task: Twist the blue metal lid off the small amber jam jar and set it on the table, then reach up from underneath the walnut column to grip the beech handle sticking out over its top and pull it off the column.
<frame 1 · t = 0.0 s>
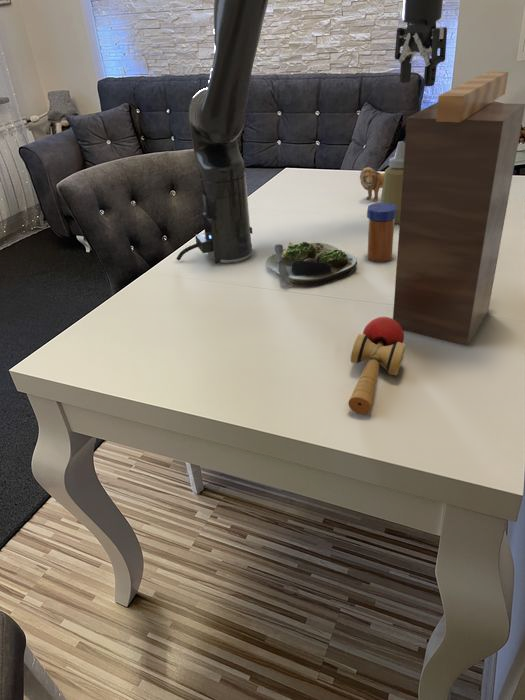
hand: (416, 84, 114), 29 cm above the table, tool pointing down, fingers open, 8 cm apart
salad plate: (310, 269, 109), on the table
rod: (473, 106, 73), point 32 cm above the table, touching stand
lion figurine: (381, 199, 143), on the table
jar lid: (382, 209, 106), point 10 cm above the table, screwed on, not yet turned
kendama: (374, 377, 76), on the table
jar: (379, 257, 111), on the table
squeeze bottle: (396, 220, 129), on the table
stand: (440, 319, 88), on the table
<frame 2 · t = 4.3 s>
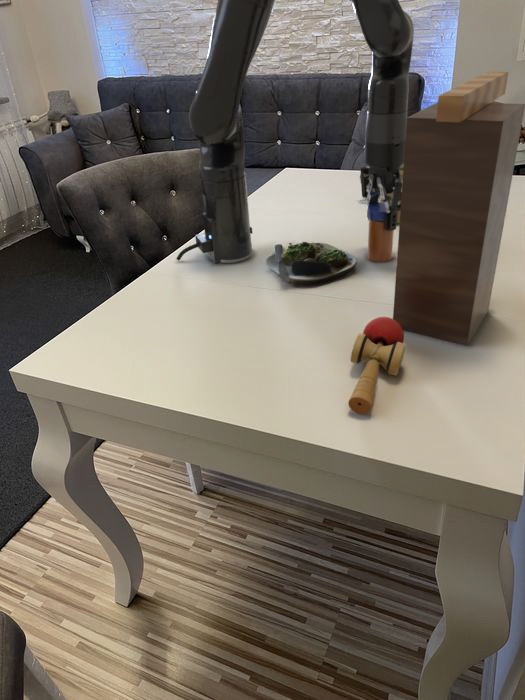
hand: (381, 225, 107), 7 cm above the table, tool pointing down, fingers closed on jar lid, 5 cm apart
jar lid: (382, 209, 106), point 10 cm above the table, screwed on, not yet turned, touching gripper
everything else where it was.
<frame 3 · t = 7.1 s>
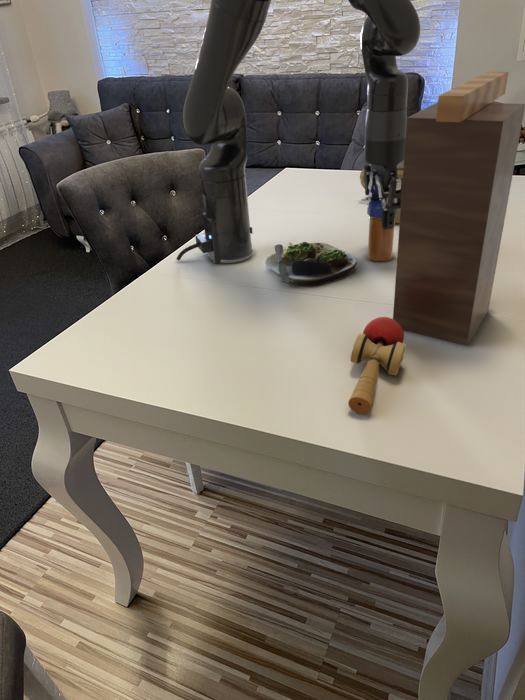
hand: (381, 223, 108), 7 cm above the table, tool pointing down, fingers closed on jar lid, 5 cm apart
jar lid: (382, 206, 106), point 11 cm above the table, off its thread, touching gripper
everything else where it was.
when the fingers open (0 cm above the table, at t = 15.2 s): jar lid stays where it is, point 1 cm above the table.
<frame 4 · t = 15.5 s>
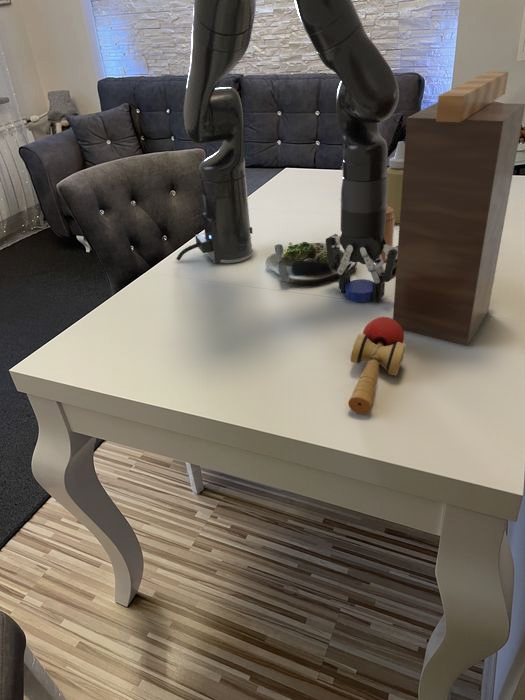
hand: (360, 295, 97), 0 cm above the table, tool pointing down, fingers open, 6 cm apart
jar lid: (361, 288, 97), point 1 cm above the table, off its thread
everything else where it was.
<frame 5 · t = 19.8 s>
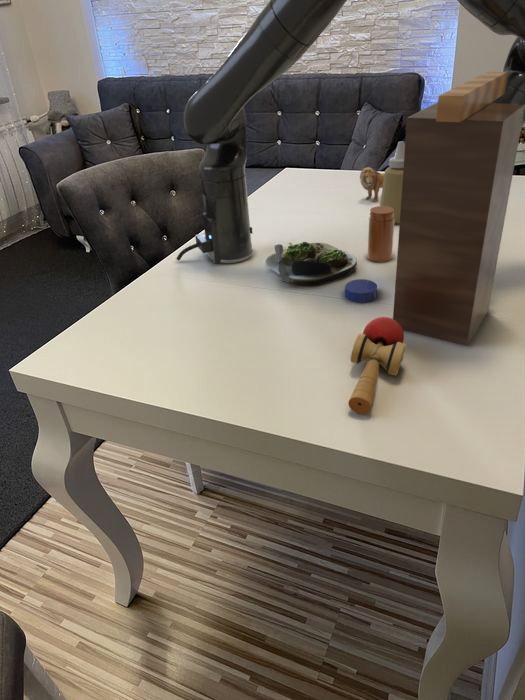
hand: (433, 230, 89), 12 cm above the table, tool tilted 40°, fingers open, 8 cm apart
nothing on the table moved.
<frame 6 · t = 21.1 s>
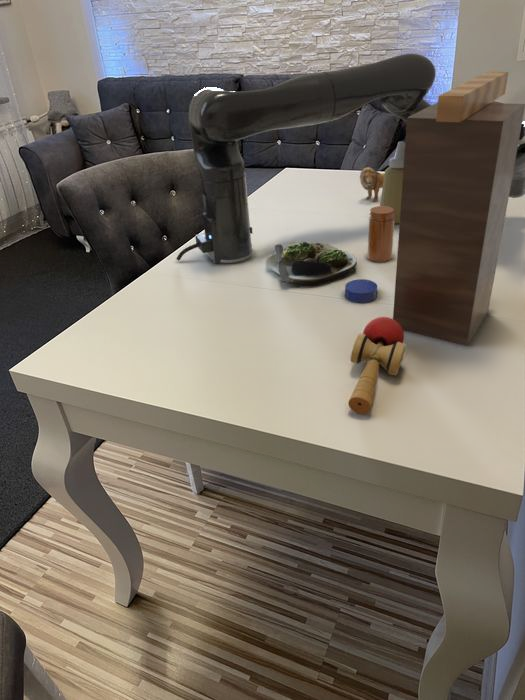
hand: (501, 116, 88), 28 cm above the table, tool pointing upward, fingers open, 8 cm apart
nothing on the table moved.
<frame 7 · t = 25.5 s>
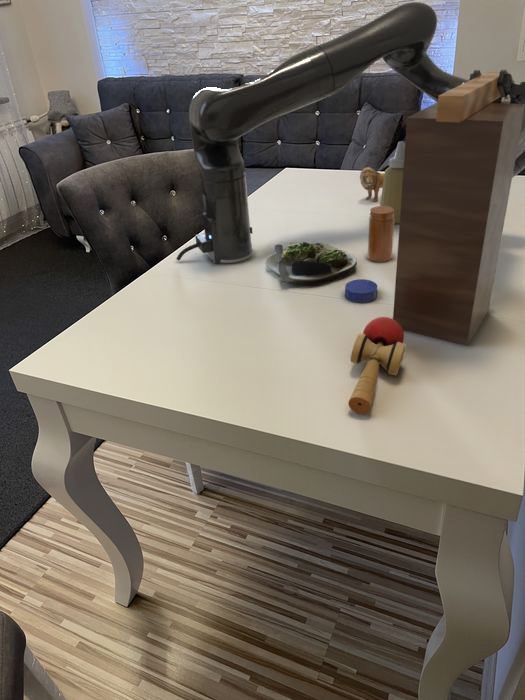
hand: (487, 77, 75), 35 cm above the table, tool pointing upward, fingers closed on rod, 3 cm apart
rod: (473, 106, 73), point 32 cm above the table, touching gripper, stand
everything else where it was.
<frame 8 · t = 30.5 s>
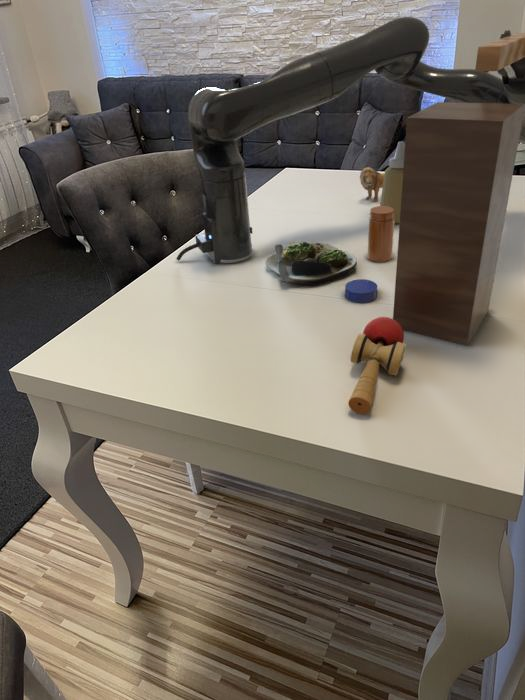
hand: (517, 36, 83), 39 cm above the table, tool pointing upward, fingers closed on rod, 3 cm apart
rod: (505, 61, 81), point 36 cm above the table, touching gripper
everything else where it was.
at the end: jar lid point 1.5 cm above the table; the gripper is holding rod; rod touching gripper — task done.
